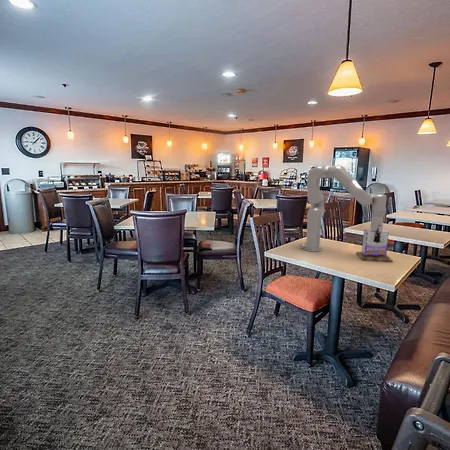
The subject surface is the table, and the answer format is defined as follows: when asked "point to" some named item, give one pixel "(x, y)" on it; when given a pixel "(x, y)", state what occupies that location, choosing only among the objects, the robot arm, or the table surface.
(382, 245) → the candy box
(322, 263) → the table surface
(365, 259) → the serving board
